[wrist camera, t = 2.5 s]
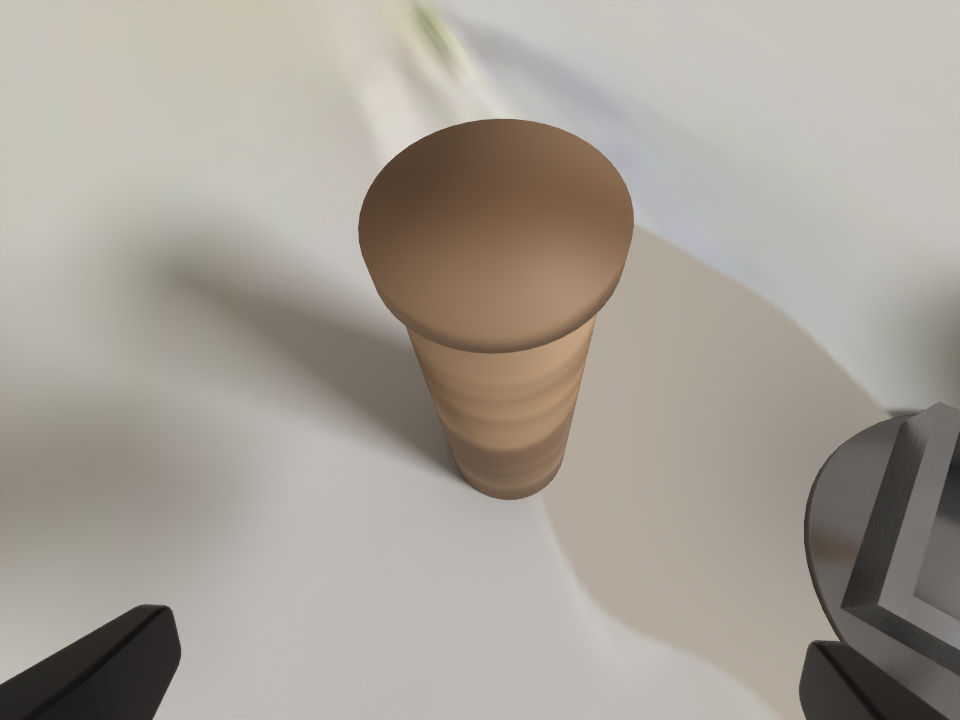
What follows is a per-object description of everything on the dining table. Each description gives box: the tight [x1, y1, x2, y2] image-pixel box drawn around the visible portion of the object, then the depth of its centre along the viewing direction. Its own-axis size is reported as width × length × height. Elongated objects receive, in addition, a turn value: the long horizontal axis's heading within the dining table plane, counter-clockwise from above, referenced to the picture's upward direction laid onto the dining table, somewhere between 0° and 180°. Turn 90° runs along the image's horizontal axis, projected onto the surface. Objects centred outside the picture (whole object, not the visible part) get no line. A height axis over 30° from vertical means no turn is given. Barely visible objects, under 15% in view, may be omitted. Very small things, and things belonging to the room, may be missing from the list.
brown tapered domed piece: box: [358, 119, 634, 500], centre depth 16 cm, size 5×5×14 cm
